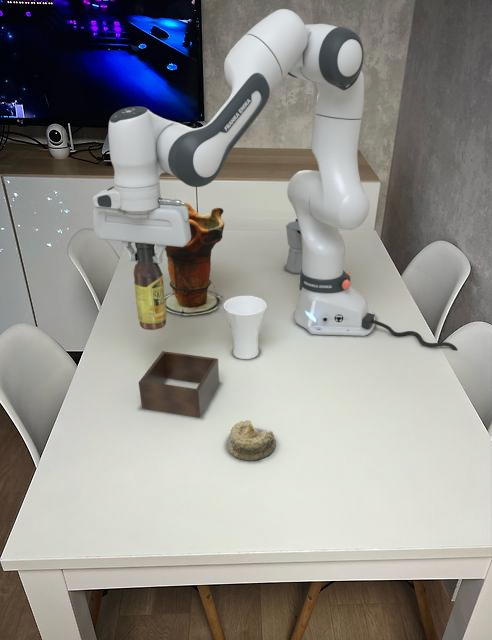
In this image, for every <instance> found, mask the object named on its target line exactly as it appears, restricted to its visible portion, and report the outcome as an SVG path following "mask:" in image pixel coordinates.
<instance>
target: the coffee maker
mask: <svg viewBox="0 0 492 640" xmlns="http://www.w3.org/2000/svg"><path fill="white" fill-rule="evenodd" d="M285 230H286V239H287V245H288V247H289V248H288V253H287V259H286V264H285V271H287V272H288V273H291V274H298V275H300V271H301V269H302V237H301V232H300V228H299V224H298V219H297V218H295V220H294V221H290V222H288V223H287V224H285Z"/></svg>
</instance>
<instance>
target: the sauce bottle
mask: <svg viewBox="0 0 492 640" xmlns="http://www.w3.org/2000/svg"><path fill="white" fill-rule="evenodd" d="M134 246H135V248H136V251H137V259H138V260H137V262H136V263H135V265H134V268H133V279H134V282H133V283H134V293H135V294H134V295H135V302H136V310H137V319H138V321H139V326H140V327H141V329H143V330H147V331H155V330H159V329H161V328H164V327H165V326H166V325H167V310H166V306H165V297H166V295H165V285H164V283H165V282H164V274H163V272H162V270H161V268H160V267H161V266H159V265H160V264H155V263H153V255H155V253H156V251H155V247H156V244H146V243H135V242H134Z"/></svg>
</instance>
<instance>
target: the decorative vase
mask: <svg viewBox="0 0 492 640" xmlns="http://www.w3.org/2000/svg"><path fill="white" fill-rule="evenodd" d="M182 202H183V203H185V204H186V205H187V207H188V209H189V219H188V221H189V225H190V231H191V239H190V241H189V242H188V243H187V244H186V245H185V246H184V247H177V246H167V245H166V248H165V250H164V252H165V255H166V258H167V271H168V275H169V279H170V282H169V286H170V288H171V290H172V293H170V294H168V295H165V306H166V312H170V313H172V314H177V315H183V316H184V317H185V316H191V315H193V316H196V315H197V316H198V315H203V314H208V313H211V312H213V311H216V310H217V309H218V304H220V303H221V300H222V298H221V296H220V295H216V293H212V292H210V291H208V290H209V287H210V286H211V284H213V281H212V280H211V279H210V277H211V272H212V271H211V269H212V267H211V265H212V258H211V257H212V250H213V249H214V247H215V246H216V245H217V244H218V243H219V242H221V241H222V240H223V234H224V229H225V222H224V221H223V219H222V215H223V214H224V209H223V208H222V207H214V208H212V209H211V211H210V213H205V214H202V213H198V212H197V211H196V209H194V208H193V206H192V205H191V204H190V203H189V202H185V201H182ZM181 205H182V204H181ZM213 288H214V290H215V292H217V290H216V289H215V286H213Z"/></svg>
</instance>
